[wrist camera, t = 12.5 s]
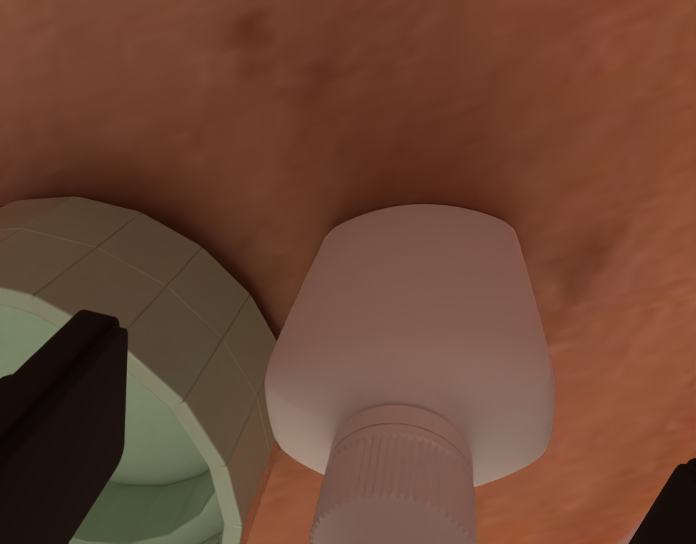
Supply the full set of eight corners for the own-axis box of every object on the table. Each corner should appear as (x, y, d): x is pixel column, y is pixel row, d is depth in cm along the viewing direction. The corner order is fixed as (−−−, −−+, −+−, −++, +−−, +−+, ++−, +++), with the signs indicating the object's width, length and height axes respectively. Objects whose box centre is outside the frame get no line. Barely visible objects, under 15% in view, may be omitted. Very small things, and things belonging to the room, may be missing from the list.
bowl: (-79, 148, 19) (-284, 214, 14) (322, 247, 18) (271, 356, 13) (-40, 452, 25) (-173, 581, 20) (265, 533, 24) (214, 690, 19)
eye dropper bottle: (467, 348, 19) (496, 809, 9) (307, 274, 19) (127, 656, 8) (542, 234, 17) (700, 648, 7) (364, 150, 17) (227, 440, 6)
